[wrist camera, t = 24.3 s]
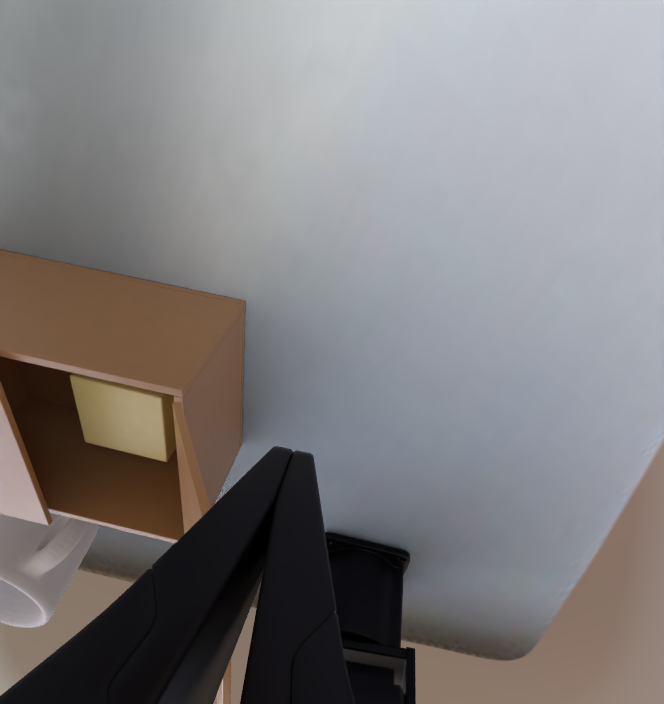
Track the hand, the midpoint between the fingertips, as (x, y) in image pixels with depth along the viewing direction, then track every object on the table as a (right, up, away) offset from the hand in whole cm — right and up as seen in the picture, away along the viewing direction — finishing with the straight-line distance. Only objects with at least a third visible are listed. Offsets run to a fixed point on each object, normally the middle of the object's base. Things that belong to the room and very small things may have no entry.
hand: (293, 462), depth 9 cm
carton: (-12, +2, +17) cm, 21 cm away
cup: (-19, -9, +27) cm, 34 cm away
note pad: (-9, +1, +17) cm, 19 cm away
